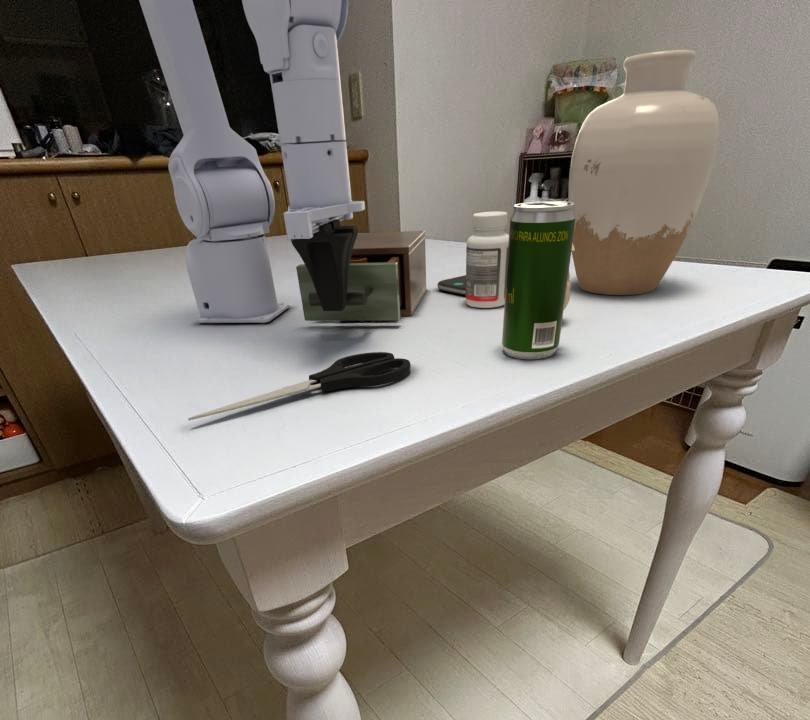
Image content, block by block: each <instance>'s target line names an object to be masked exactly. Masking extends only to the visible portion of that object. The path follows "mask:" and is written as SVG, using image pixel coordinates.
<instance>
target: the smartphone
mask: <svg viewBox="0 0 810 720" xmlns="http://www.w3.org/2000/svg"><path fill="white" fill-rule="evenodd" d="M437 289H438V290H439V291H443V292H447V293H452V294H457V295H461V296H466V274H465V275H460V276H456V277H450V278H447V279H442V280H439V281H438V283H437Z"/></svg>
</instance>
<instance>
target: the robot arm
mask: <svg viewBox="0 0 810 720" xmlns="http://www.w3.org/2000/svg"><path fill="white" fill-rule="evenodd" d="M138 2H139V5H140V7H141V10H142V13H143V16H144V20H145V23H146V25H147V28H148V32H149V36H150V38H151V41H152V45H153V46H154V49H155V53H156V56H157V59H158V62H159V65H160V68H161V71H162V74H163V77H164V80H165V84H166V86H167V89H168V92H169V93H168V94H169V95H170V98H171V101H172V105H173V108H174V110H175V113H176V114H175V115H176V116H177V119H178V123H179V126H180V129H181V132H182V134H183V136H182V138H181V139H180V141H179V142H178V144H177V145H176V146H175V148H174V149H173V150H172V152H171V154H170V156H169V160H168V165H167V167H168V172H169V175H170V179H171V182H172V186H173V195H174V200H175V204H176V208H177V211H178V214H179V217H180V219H181V220H182V222H183V224H184V226H185V227H186V228H187V229H188V231H189V232H190V233H192V234H193V235H194V236H195V237H196V238H194V239H192V240H190V241H189V242H188V244H187V245H186V248H185V265H186V271H187V274H188V278H189V281H190V284H191V285H190V286H191V288H192V292H193V295H194V299H195V303H196V307H197V310H198V314H199V318H198V319H197V322H198V323H200V324H235V323H236V324H238V323H239V324H241V323H242V324H243V323H245V324H247V323H250V324H251V323H252V324H253V323H255V324H257V323H259V324H260V323H262V324H264V323H270V322H271V321H273V320H274V319H275V318H277V317H278V316H279V315H280V314H282V313H284V312H285V311H286V310H288V309H289V308H290V307H291V306H290V303H289V302H278V299H277V292H276V288H275V287H276V286H275V283H274V278H273V277H274V276H273V272H272V267H271V262H270V255H269V250H268V246H267V239H266V234H270V233H271V232H270V226H271V224H272V222H273V220H274V216H275V212H276V202H275V195H274V190H273V187H272V184H271V182H270V180H269V178H268V176H267V175H266V173H265V171H264V169H263V167H262V164H261V162H260V159H259V156H258V153H257V149H256V148H255V147H254V146H253V145H252V144H250V143H249V142H248V141H247V140H246V139H244V137H242V136H240V135H239V134H238V133H237V132H236V131H234V130H233V129H232V127H230V123H229V120H228V116H227V113H226V110H225V107H224V103H223V100H222V97H221V93H220V90H219V86H218V83H217V79H216V77H215V71H214V70H213V66H212V62H211V59H210V55H209V53H208V52H209V51H208V49H207V45H206V42H205V39H204V35H203V32H202V29H201V25H200V21H199V18H198V15H197V12H196V8H195V5H194V1H193V0H138ZM241 3H242V8H243V11H244V15H245V18H246V21H247V23H248V26H249V29H250V31H251V32H252V34H253V36H254V38H255V41H256V44H257V49H258V55H259V61H260V65H262V67H263V71H264V72H265V73H267V74H269V81H270V85H271V93H272V99H273V105H274V111H275V117H276V124H277V131H278V139H279V143H280V150H281V156H282V157H281V158H282V164H283V169H284V176H285V182H286V189H287V195H288V202H289V205H288V206H287V211H285V212H283V219H284V225H285V231H286V237H287V240H290V242H291V245H292V247H293V248H294V249H295V251H296V252H297V254H298V255H299V257H300V258H301V261H302V262H303V263H304V264H305V266H306V267H307V270H308V272H309V274H310V276H311V279H312V282H313V284H314V287H315V290H316V293H317V296H318V298H319V301H320V304H321V306H322V309H323V311H342V310H343V309H344V308H345V305H346V298H347V285H348V273H349V265H350V259H351V254H352V250H353V247H354V243H355V240H356V238H357V234H358V233H359V230H358V229H359V228H358V226H357V225H341V222H342V221H344V220H346V221H347V220H352V219H354V213H356V212H362V211H365V210H366V203H365V201H364V200H353V199H352V189H351V180H350V178H351V177H350V170H349V169H350V167H349V158H348V147H347V137H346V136H347V135H346V126H345V116H344V114H345V113H344V103H343V95H342V94H343V92H342V83H341V73H340V72H341V71H340V62H339V61H340V60H339V50H338V42H339V40H340V39H341V38H342V35H343V34H344V30H345V28H346V25H347V19H348V14H349V0H241Z"/></svg>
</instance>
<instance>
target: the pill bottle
mask: <svg viewBox="0 0 810 720" xmlns="http://www.w3.org/2000/svg"><path fill="white" fill-rule="evenodd" d="M471 226H472V229H473V230H474V232H473V234H472V235H471V236H469V237H468V239H467V241H466V246H465V247H466V248H465V249H466V251H465V252H466V253H465V254H466V255H465V275H466V295H465V303H466V305H468V306H469V307H472V308H479V309H480V308H481V309H492V308H493V309H494V308H499V307H502V306H504V305H505V290H506V275H507V259H508V244H509V233H507V232H506V231H505V229H506V228H508V212H507V211H483V212H476V213H474V214H473V215H472V225H471Z"/></svg>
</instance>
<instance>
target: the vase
mask: <svg viewBox="0 0 810 720" xmlns="http://www.w3.org/2000/svg"><path fill="white" fill-rule="evenodd" d="M696 57H697V53H696V51H695V50H692V49H671V50H660V51H652V52H651V51H650V52H645V53H639V54H635V55H631V56H628V57H626V58H625V60H624V61H623V69H624V71H625V83H624V90H623V93H622V94H621V95H619V96H618V97H615V98H613V99H611V100H609V101H607V102H605V103H603V104H601V105H598V106H596V107H595V108H594V109H593V110H591V112H589V113H588V115H587V116H586V117H585V119H584V121H583V122H582V124H581V126H580V129H579V132H578V134H577V136H576V139H575V143H574V146H573V151H572V154H571V160H570V168H569V175H568V176H569V177H568V195H567V196H568V202H573V203H575V206H574V208H573V210H574V213H575V216H576V220H575V227H574V235H573V245H574V249H575V251H572V252H571V256H572V261H573V265H574V266H573V267H574V271H575V276H576V279H577V282H578V286H579V288H580V289H581V290H582V291H585V292H588V293H592V294H597V295H607V296H633V295H642V294H647V293H651V292H653V291H655V290H656V288H657V287H658V286H659V284H660V283H661V281H662V280H663V279H664V277H665V275H666V273H667V272H668V270H669V268H670V267H671V265H672V263H673V261H674V260H675V258H676V256H677V255H678V253H679V251H680V250H681V247H682V245H683V243H684V241H685V239H686V238H687V236H688V234H689V231H690V229H691V228H692V225H693V222H694V221H695V218H696V216H697V213H698V211H699V208H700V206H701V203H702V200H703V198H704V196H705V193H706V190H707V187H708V184H709V182H710V179H711V175H712V172H713V169H714V167H715V161H716V156H717V153H718V146H719V138H720V117H719V111H718V109H717V106H716V104H715V103H714V102H713V101H712V100H711V99H710V98H708V97H705V96H703V95H700V94H699V93H695V92H691V91H688V90H686V89H685V87H686V82H687V78H688V74H689V70H690V68H691V66H692V64H693V63H694V62H695V60H696Z"/></svg>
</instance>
